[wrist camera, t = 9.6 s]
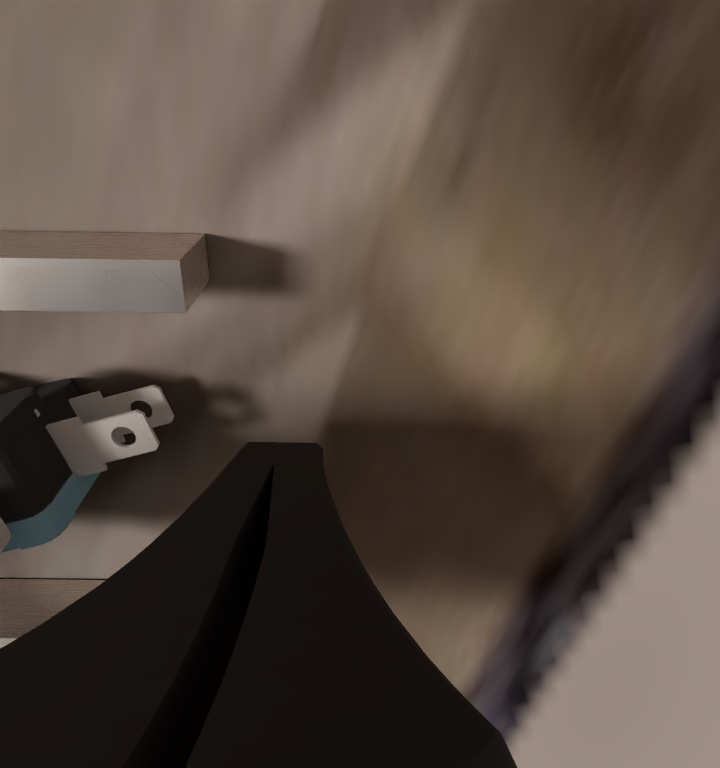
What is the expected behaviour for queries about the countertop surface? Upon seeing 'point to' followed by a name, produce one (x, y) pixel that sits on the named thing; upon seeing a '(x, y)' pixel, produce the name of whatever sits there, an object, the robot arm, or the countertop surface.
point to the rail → (89, 294)
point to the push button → (64, 452)
